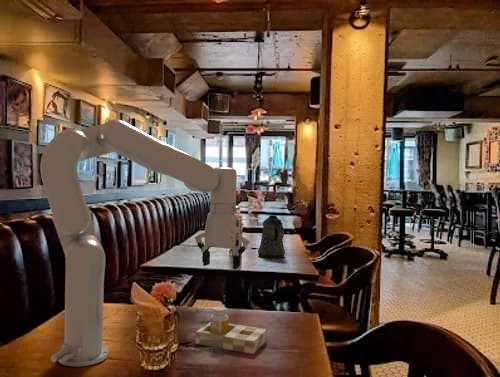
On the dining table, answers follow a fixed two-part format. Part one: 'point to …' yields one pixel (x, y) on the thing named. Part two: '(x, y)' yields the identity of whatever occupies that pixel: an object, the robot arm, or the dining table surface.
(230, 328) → the socket block
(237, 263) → the robot arm
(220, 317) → the supplement bottle
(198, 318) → the dining table surface
